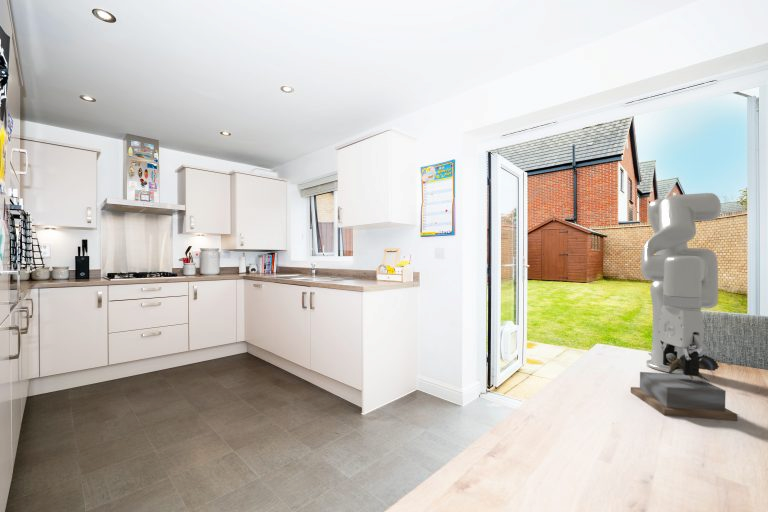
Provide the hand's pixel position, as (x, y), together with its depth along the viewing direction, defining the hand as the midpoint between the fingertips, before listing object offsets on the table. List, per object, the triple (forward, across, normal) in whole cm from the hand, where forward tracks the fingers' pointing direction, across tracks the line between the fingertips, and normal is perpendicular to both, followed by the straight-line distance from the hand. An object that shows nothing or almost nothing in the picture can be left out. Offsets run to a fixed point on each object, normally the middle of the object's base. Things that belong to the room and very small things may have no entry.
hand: (680, 369), depth 89 cm
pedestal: (+9, 0, 0) cm, 9 cm away
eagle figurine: (+2, +1, +2) cm, 2 cm away
